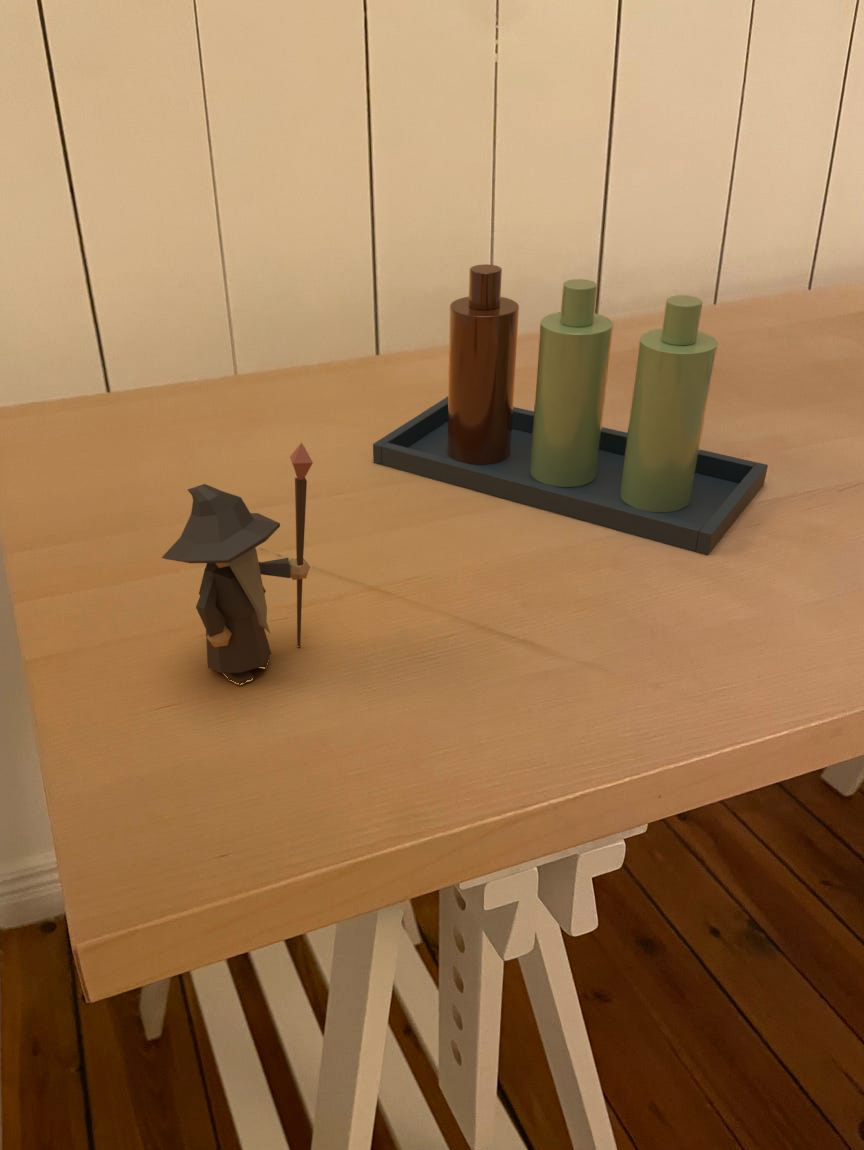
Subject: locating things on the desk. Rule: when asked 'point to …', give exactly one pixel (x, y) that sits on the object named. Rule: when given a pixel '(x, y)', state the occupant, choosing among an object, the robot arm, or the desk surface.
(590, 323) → the green bottle
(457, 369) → the brown bottle
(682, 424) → the green bottle
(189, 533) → the wizard figurine
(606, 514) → the tray
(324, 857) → the desk surface
